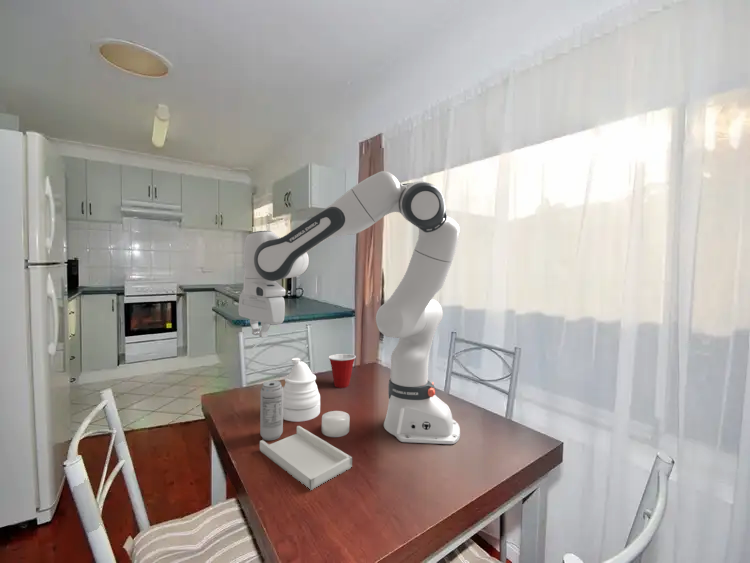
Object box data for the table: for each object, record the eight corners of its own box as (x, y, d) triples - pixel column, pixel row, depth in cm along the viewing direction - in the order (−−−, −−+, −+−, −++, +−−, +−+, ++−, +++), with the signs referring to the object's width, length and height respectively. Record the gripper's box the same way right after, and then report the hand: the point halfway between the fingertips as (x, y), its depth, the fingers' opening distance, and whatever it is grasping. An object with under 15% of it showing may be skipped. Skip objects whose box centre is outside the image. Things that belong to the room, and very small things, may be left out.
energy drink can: (283, 430, 100) (284, 379, 99) (281, 441, 94) (281, 387, 93) (262, 431, 99) (262, 379, 98) (258, 442, 93) (258, 387, 92)
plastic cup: (350, 379, 144) (350, 350, 143) (359, 388, 134) (359, 357, 133) (324, 382, 139) (325, 353, 139) (332, 391, 129) (332, 360, 129)
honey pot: (297, 425, 102) (298, 366, 101) (271, 413, 110) (271, 358, 109) (328, 411, 113) (329, 357, 112) (302, 401, 120) (302, 350, 119)
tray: (259, 450, 89) (259, 441, 89) (298, 434, 97) (299, 425, 97) (311, 490, 74) (311, 479, 74) (352, 467, 82) (352, 457, 82)
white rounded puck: (352, 425, 103) (352, 412, 103) (344, 438, 95) (344, 424, 95) (327, 422, 105) (327, 409, 105) (317, 434, 97) (317, 421, 97)
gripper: (232, 286, 103) (232, 331, 104) (268, 291, 89) (267, 343, 90) (252, 285, 108) (252, 329, 109) (289, 290, 94) (288, 340, 95)
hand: (259, 335), depth 99 cm, fingers open, 3 cm apart
